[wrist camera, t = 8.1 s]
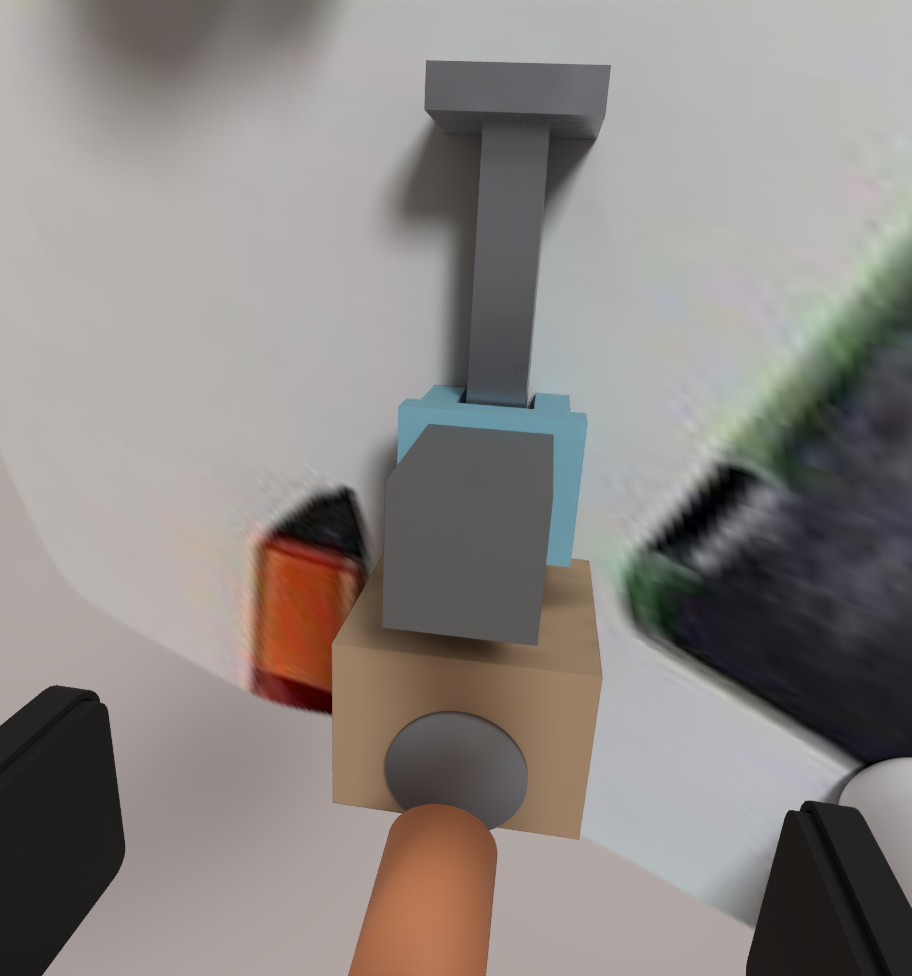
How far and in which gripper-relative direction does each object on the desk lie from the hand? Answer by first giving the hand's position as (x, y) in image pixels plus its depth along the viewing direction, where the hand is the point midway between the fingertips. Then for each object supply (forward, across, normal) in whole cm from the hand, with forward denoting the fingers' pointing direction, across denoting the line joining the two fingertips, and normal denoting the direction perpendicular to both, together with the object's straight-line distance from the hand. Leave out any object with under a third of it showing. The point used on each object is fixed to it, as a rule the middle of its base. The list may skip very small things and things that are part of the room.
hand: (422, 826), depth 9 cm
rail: (+18, +1, -4) cm, 18 cm away
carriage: (+18, +1, 0) cm, 18 cm away
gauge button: (+7, +1, +8) cm, 11 cm away
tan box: (+18, +1, +7) cm, 19 cm away
